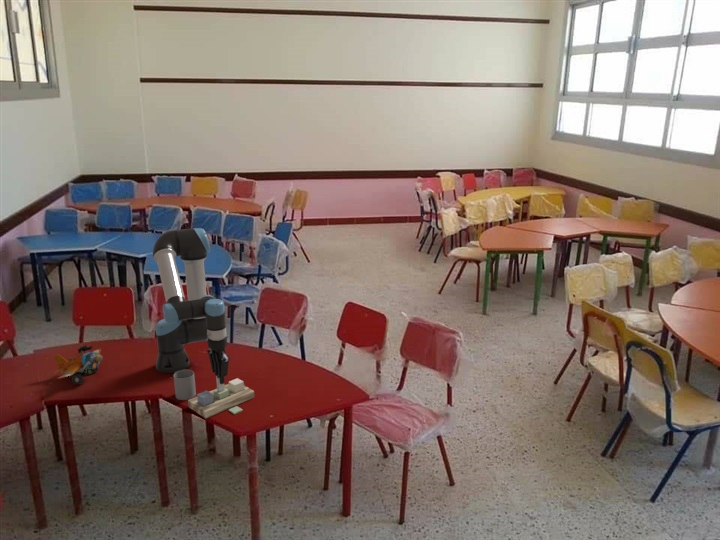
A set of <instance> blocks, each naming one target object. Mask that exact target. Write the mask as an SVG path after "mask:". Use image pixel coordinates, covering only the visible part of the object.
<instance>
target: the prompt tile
mask: <svg viewBox="0 0 720 540" xmlns="http://www.w3.org/2000/svg"><path fill="white" fill-rule="evenodd" d="M228 412H230V413H231V414H232V415H236V414H238V413H241V412H243V409H242V408H241V407H239V406H238V405H236V406H234V407H231V408H229V409H228Z"/></svg>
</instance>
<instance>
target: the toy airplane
mask: <svg viewBox="0 0 720 540" xmlns="http://www.w3.org/2000/svg"><path fill="white" fill-rule="evenodd" d="M101 352H102V348H97V349H95V350H93V345H92V346H87V344H86V345H82V346H80V347H79V348H78V349H77V353H76V354H75V357H73V356H70V357H68V360H67V359H65V358H64V357H63V356H62V355H60V354H59V353H57V354H53V358H54V360H55V362H56V364H57V366H58V369H57V370H55V371H54V374H56V373H59V372H61V373H62V374H63V375H62V376H59V377H57V380H59V379H63V378H64V379H65V378H69V377H71V382H72V383H73V384H74V385H76V384H80V385H82V384H83V382H84V377H85V375H91V374H92V373H97V372H98V371H99V369H100V368H99V366H100V364H101V362H102V361H103V359H104V358H103V355H101ZM68 376H69V377H68ZM81 383H82V384H81Z"/></svg>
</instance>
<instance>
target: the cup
mask: <svg viewBox="0 0 720 540" xmlns="http://www.w3.org/2000/svg"><path fill="white" fill-rule="evenodd" d="M173 384H174V392H175V399H177V400H178V401H188V400H190V399H193V398H195V397H196V396H197V392H196V391H197V390H196V388H197V387H196V381H195V372H194V371H193V370H191V369H184V370H180V371H177V372H175V373H174V374H173Z"/></svg>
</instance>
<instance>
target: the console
mask: <svg viewBox="0 0 720 540" xmlns="http://www.w3.org/2000/svg"><path fill="white" fill-rule="evenodd" d="M224 385H225V388H226V389H227V390H229V383H228V384H224ZM216 389H217V388H215V389H213V390H216ZM213 390H210V391H209V392H210V393H212V394H213V402H214V403H212V404H210V405H207V406H205V407H202V406H201V405H199V404H198V399H197V396H195V397H193V398H191V399H188V400H187V406H188V408H189V409H191V410H192V411H193V412H195V413H196V414H198V415H200V416H201V417H203V418H204V419H205V420H206V419H208V418H209V419H210V418H211V417H213V416H216V415H217V414H220V413H222V412H224V411H227V410H229V409H231V408H233V407H236V406H238V405H240V404H243V403H245V402H247V401H249V400H251V399H254V398H255V390H253V389H251V388H250V387H248V386H246V385H244V390H243V391H241V392H238V393H236V394H234V393H233V392H231V391H229V397H226V398H224V399H222V400H218V399H216V398H215V397H214V392H213Z"/></svg>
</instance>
